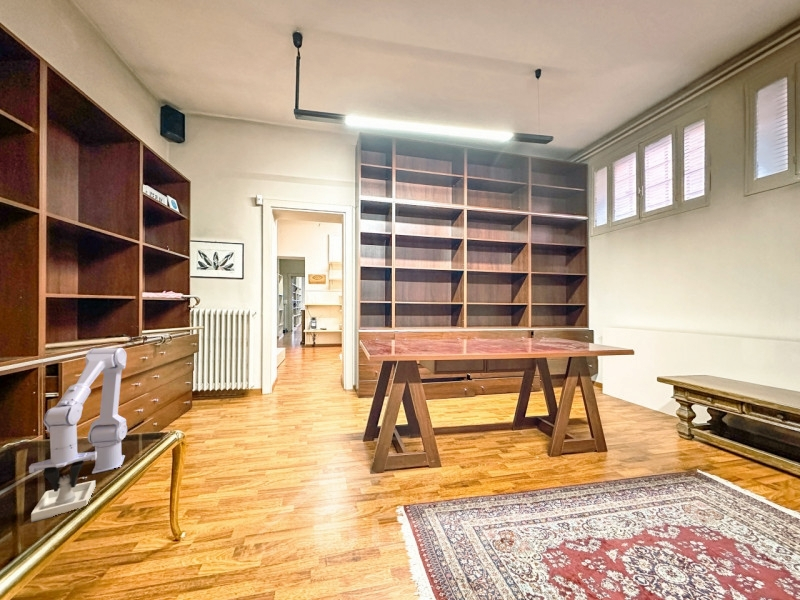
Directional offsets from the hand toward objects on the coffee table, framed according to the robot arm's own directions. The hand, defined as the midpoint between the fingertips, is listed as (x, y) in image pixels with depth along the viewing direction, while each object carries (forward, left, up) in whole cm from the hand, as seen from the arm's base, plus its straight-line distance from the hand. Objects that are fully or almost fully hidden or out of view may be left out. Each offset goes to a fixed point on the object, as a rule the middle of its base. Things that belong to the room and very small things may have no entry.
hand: (65, 487), depth 101 cm
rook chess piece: (0, 0, -5) cm, 5 cm away
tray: (0, 0, -5) cm, 5 cm away
